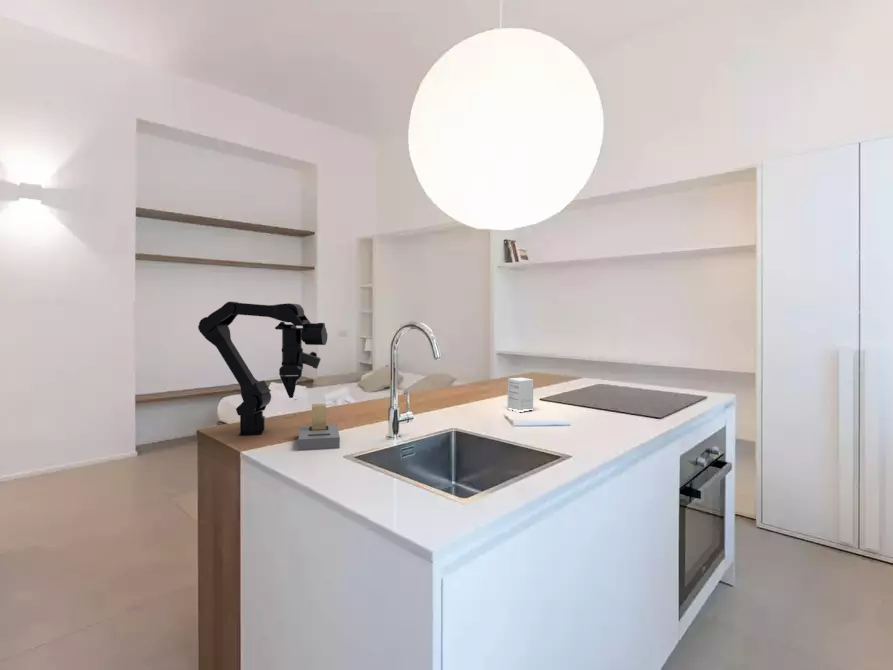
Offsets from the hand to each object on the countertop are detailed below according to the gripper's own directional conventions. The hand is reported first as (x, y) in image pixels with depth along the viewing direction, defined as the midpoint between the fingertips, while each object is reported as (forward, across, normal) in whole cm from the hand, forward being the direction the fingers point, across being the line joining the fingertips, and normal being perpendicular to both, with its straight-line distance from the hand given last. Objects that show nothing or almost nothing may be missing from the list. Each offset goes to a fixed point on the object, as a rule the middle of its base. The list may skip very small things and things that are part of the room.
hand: (291, 395), depth 149 cm
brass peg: (+12, -7, -8) cm, 16 cm away
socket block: (+12, -11, -8) cm, 18 cm away
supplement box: (+12, +20, -85) cm, 88 cm away
